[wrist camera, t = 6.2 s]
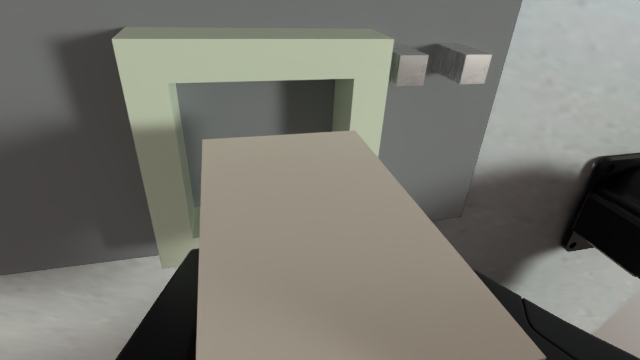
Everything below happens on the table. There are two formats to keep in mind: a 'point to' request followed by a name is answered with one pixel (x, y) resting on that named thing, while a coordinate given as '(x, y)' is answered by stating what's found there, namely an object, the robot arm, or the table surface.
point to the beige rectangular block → (332, 261)
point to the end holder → (234, 66)
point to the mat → (209, 113)
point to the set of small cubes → (439, 64)
